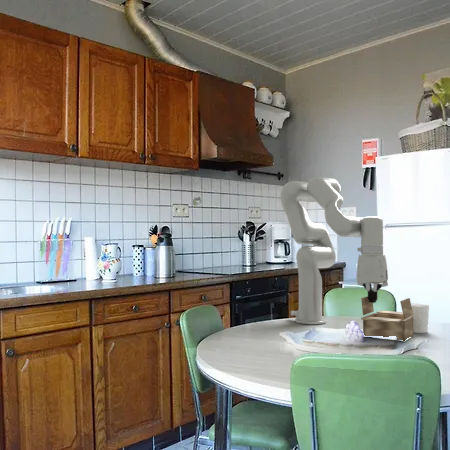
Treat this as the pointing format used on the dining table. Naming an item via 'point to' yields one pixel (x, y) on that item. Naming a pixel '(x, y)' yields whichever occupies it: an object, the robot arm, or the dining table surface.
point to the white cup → (420, 317)
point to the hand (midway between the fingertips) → (372, 302)
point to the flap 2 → (406, 308)
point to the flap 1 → (366, 306)
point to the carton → (388, 325)
